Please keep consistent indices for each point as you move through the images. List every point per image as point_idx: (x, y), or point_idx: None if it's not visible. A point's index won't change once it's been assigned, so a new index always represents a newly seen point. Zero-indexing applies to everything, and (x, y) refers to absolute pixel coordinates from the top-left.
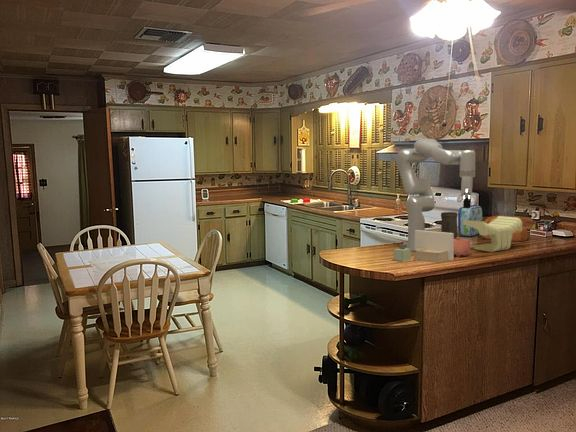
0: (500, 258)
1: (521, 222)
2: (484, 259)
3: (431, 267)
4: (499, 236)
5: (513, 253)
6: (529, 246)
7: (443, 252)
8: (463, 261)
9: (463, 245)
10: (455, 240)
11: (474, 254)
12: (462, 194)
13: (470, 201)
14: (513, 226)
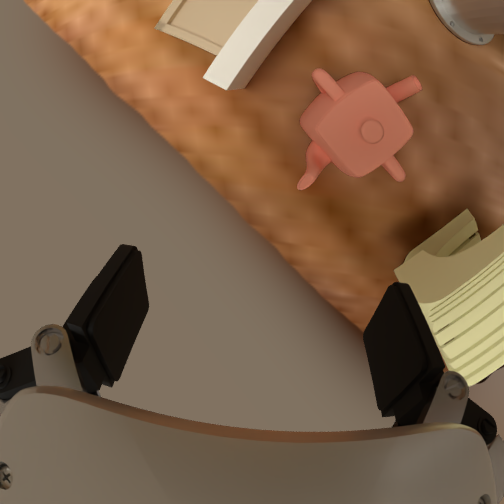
0: (288, 256)
1: None
2: (265, 204)
3: (91, 33)
4: None
5: (372, 301)
6: None
7: (196, 45)
8: (212, 124)
9: (319, 144)
10: (350, 112)
11: (371, 187)
12: (12, 411)
13: (377, 386)
14: (445, 361)
